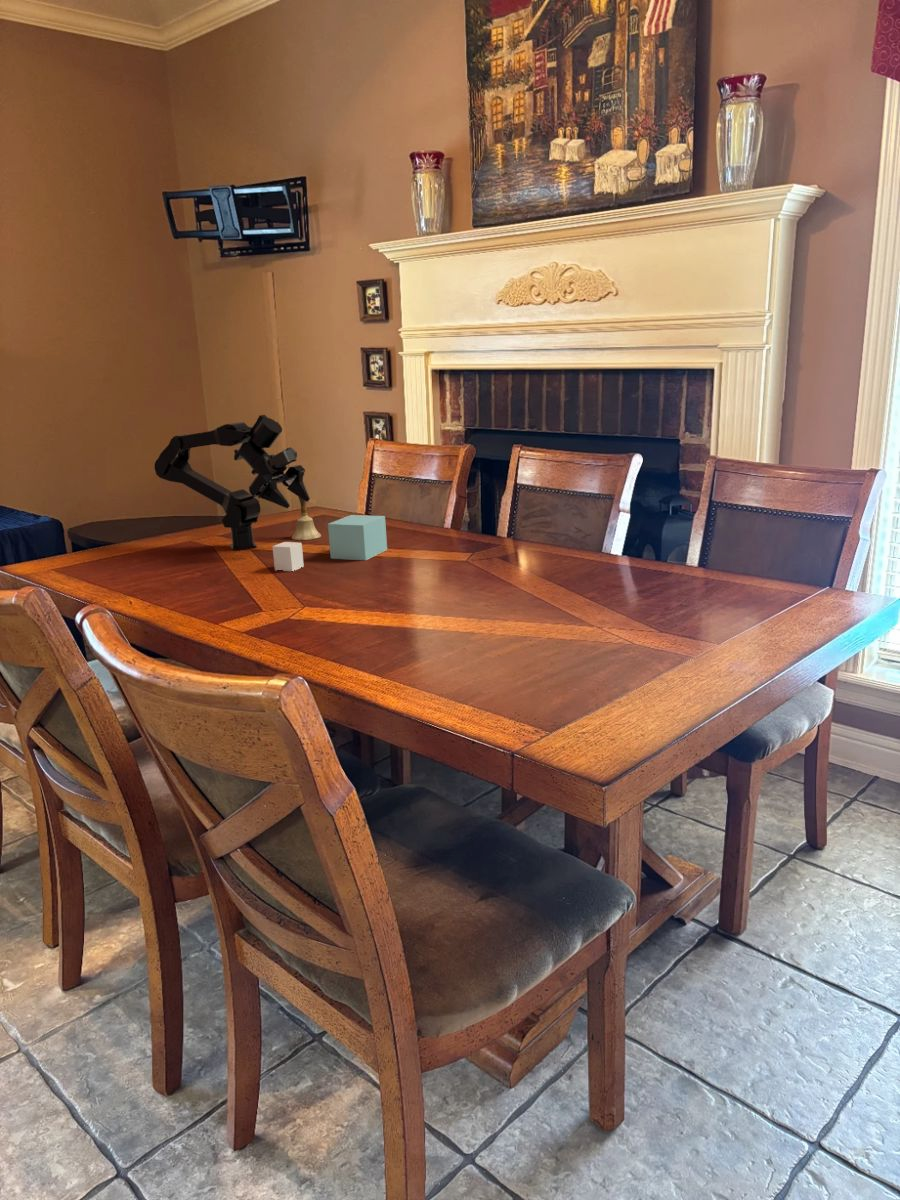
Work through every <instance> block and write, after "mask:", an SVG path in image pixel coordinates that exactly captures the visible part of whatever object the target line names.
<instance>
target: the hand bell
mask: <svg viewBox="0 0 900 1200" xmlns="http://www.w3.org/2000/svg"><path fill="white" fill-rule="evenodd" d="M303 484H304V486H305V489H306V491H307V490H308V489H307V487H306V485H305V481H304V480H303ZM307 492H308V491H307ZM298 499H299V504H300V517H299V518H297V519H296V529H295V532H294V534H293V535H292V536H291V539H292V540H294V541H309V540H315V539H319V538H321V537H322V534H321V533H320V532H319V531H318V530H317V528H316V527H315V524H314V523H315V522H314V520H313V518H312V517H311V516H309V515H308V509H307V501H305V500H303V499H302V498H300V497H299V496H298Z"/></svg>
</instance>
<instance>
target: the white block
mask: <svg viewBox="0 0 900 1200" xmlns="http://www.w3.org/2000/svg"><path fill="white" fill-rule="evenodd" d="M271 547H272V556H273V563H274V565H273V566H274V571H277V570H283V571H282V572H291V571H293V572H295V571H297V570H299V569H301V567H302V568H304V567H305V565H304V555H303V544H302V542H294V541H283V542H280V543H278V544H275V545H272V546H271ZM294 570H295V571H294Z"/></svg>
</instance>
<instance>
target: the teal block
mask: <svg viewBox="0 0 900 1200" xmlns="http://www.w3.org/2000/svg"><path fill="white" fill-rule="evenodd" d="M327 528H328V529H327V530H328V540H329V542H328V543H329V551H330V559H333V560H337V559H338V560H350V561H352V560H355V561H367V560H369V559H371V558H373V557H375V556H377V554H378V555H380V554H382V553H383V552H385V551H388V540H387V539H388V538H387V527H386V516H385V515H363V514H362V515H361V514H360V515H357V514H351V515H347V516H345V517H342V518H340V519H337V520H333V521H332V522H329V523H327Z"/></svg>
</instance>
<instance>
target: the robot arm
mask: <svg viewBox="0 0 900 1200" xmlns="http://www.w3.org/2000/svg"><path fill="white" fill-rule="evenodd" d="M282 432H283V427H282V426H281V424H280V423H279V422H277V421H275V420H274V419H272V418H270V417H268V416H267V415H265V414H261V415H258V417H257V419H256V421H255V423H254V424H253V426H249V425H247V424H246V423H245V422H243V421H238V422H231V423H226V424H223V425H220V426H217V427H216V428H215V429H213V430H210V431H204V432H197V433H196V432H195V433H191V434H180V435H174V436H173V437H172V438H171V439H170V441H169V443H168V445H166V447H165V448H164V449H163V450H162V451H161V453H160V454H159V456H158V458H157V459H156V460H155V462H154V472H155V475H156V476H157V477H158V478H159V479H162V480H164V481H167V482H171V483H179V484H182V485H184V486H186V487H188V488H189V489H191V490H193V491H195V492H197V494H199V495H201V496H204V497H205V498H207V499H209V501H212V502H214V503H216V504H218V505H219V506H221V507H222V509H223V511H224V512H225V515H224V516H223V518H222V519H221V522H222V525H223V527H224V528H229V529H230V535H231V543H230V545H229V546H230V548H231V550H232V551H237V550H247V549H252V548H253V549H254V548H257V544H256V542H255V540H254V534H253V525H252V524H255V523H257V522H258V518H259V515H260V513H261V505H260V501H259V499H263V500H265V501H268V502H270V503H273V504H276V505H278V506H280V507H282V508H284V509H285V508H286V509H289V508H290V507H291V506H290V503H289V501H288V500H287V499H286V497H285V496H284V495H283V494H282V493H281V491H280V490H279V488H278V484H282V485H283V486H285V487H287V488H286V489H287V490H288V491H289V492H290V493H293V494H294V495H296V496H299V497H300V498H302V499H303V500H305V501H306V503H307V502H309V501H310V500H311V498H310V496H309V493H308V491H306V489H307V488H306V489H305V486H306V485H305V486H304V484H305V483H304V484H303V481H304V476H305V473H306V469H305V468H304V467H303V466H302V465H301V464H296V465H292V466H289V467H288V466H287V465H290V464H291V463H294V462H297V460H298V459H297V457H298V453H297V451H295V449H294V448H292V447H291V446H290V447H287V448H286V449H283V451H280V452H278V453H276V454H269V453H268V452H267V451H266V450H265V449H269V448H271V447H272V446H273V444H274V443H275V441H276V440H277V439H278V438H279V437H280V435H281V434H282ZM211 445H217V446H220V447H234V446H240V447H239V448H238V449H234V455H233V460H234V461H240V460H244V461H245V462H246V463H247V464H248V465H249V467H250V468H251V469H252V470H251V474H252V475H253V476H254V475H255V476H256V477H255V478H254V479H253V480H252V482H251V483H250V485H249V486H248V491H249V492H248V491H246V490H245V489H244V488H243V489H238V490H234V491H231V490H229V489H227V488H226V487H224V486H222V485H220V484H219V483H217V482H215V481H214V480H211V479H210V478H208V477H206V476H204V475H202V474H201V473H199V472H197V471H196V470H194V469H193V468H192V466H191V464H190V463H189V461H190V459H191V458H190V457H191V455H190V454H191V452H190V451H191V449H192V448H193V449H194V448H198V447H205V446H211ZM285 471H286V472H285ZM256 497H257V498H258V499H257V498H256ZM299 497H298V498H299Z"/></svg>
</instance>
